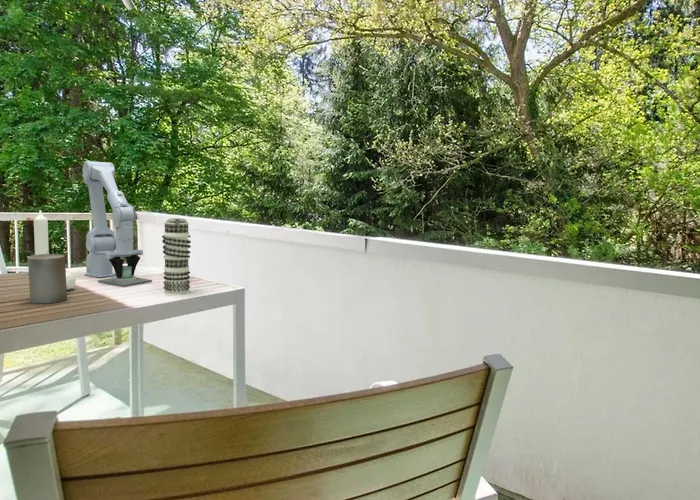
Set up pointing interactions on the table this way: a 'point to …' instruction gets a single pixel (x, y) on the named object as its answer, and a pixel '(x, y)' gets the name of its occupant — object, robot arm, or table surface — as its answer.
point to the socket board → (125, 281)
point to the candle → (41, 234)
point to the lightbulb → (70, 280)
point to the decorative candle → (176, 256)
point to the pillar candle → (47, 278)
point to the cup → (126, 272)
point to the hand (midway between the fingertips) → (125, 276)
